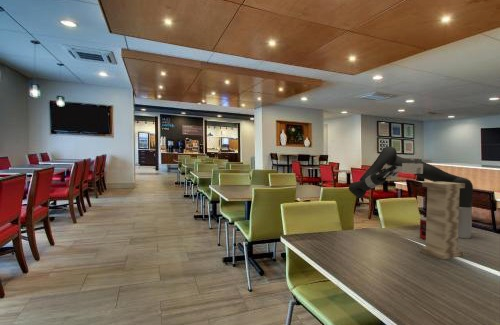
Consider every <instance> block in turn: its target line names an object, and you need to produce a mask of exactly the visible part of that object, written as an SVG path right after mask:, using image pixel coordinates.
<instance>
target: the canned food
mask: <svg viewBox="0 0 500 325" xmlns="http://www.w3.org/2000/svg"><path fill="white" fill-rule="evenodd" d="M426 217H427V216H426ZM426 217H420V218H419V219H420V220H419V238H420V240H424V241H426Z"/></svg>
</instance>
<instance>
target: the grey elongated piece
mask: <svg viewBox="0 0 500 325" xmlns="http://www.w3.org/2000/svg"><path fill="white" fill-rule="evenodd" d="M406 159H407V158H406ZM418 161H419V159H410V158H409V159H407V163H402V167H401V166H396V169H395V170H393V171H391V172H398V173H402V174H413V175H414V174H423V164H418ZM385 166H386V167H385V168H386V169H387V168H390V167H391V165H385Z"/></svg>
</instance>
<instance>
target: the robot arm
mask: <svg viewBox="0 0 500 325" xmlns="http://www.w3.org/2000/svg"><path fill="white" fill-rule="evenodd" d="M397 153H398V152H397V149H396V148H395V147H393V146H385V147H383V148H382V150H381V151H380V153H379V154H378V156H377V158H376V159H375V161H374V162H373V163H372V165H370V166H369V167H368V169H367V170H366V171H365V173H363V174H362V176H361V177H360V178H359V180H358V181H354V182H352V183H351V184H349V186H348V190H349V192H350V193H351V194H352V195H353V196H354V197H356V198H357V199H362V198H364V196H365V195H366V194H367V191H370V190H372V189H374V188H376V187H378V186H380V185H382V184H384V183H385V182H386V181H387V179H388V178H390V177H391V176H392V177H395V176H396V175H397V174H398V173H399V172H391V171H393V170H395V169H396V166H401V167H402V163H407V158H403V157H401V156H399V155H398V154H397ZM418 164H423V174H413V175H414V176H416V177H419V178H422V179H423V180H428V181H429V182H453V183H464V184H465V188H460V195H459V225H458V239H471V238H472V233H473V232H472V231H473V230H472V229H473V226H472V225H473V220H472V215H473V193H474V185H473V183H472V181H471V180H469V178H466V177H462V176H459V175H454V174H452V173H449V172H446V171H444V170H442V169H440V168H439V167H437V166H435V165H432V164H430V163H427V162H425V161H422V160H418ZM386 165H387V166H391V167H390V168H387V169H386V167H385V166H386ZM384 167H385V168H384Z"/></svg>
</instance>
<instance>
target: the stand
mask: <svg viewBox="0 0 500 325" xmlns="http://www.w3.org/2000/svg"><path fill="white" fill-rule="evenodd" d="M421 185H422V186H421V187H425V188H427V189H426V191H427V192H426V240H425V246H422V247H420V249H419V250H420V253H422V254H425V255H427V256H430V255H431V257H433V258H437V259H439V260H442V261H443V260H444V261H445V260H448V259H452V258H458V257H463V256H464V252H463V250H459V237H458V225H459V195H460V188H465V184H464V183H453V182H434V181H422V184H421Z"/></svg>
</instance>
